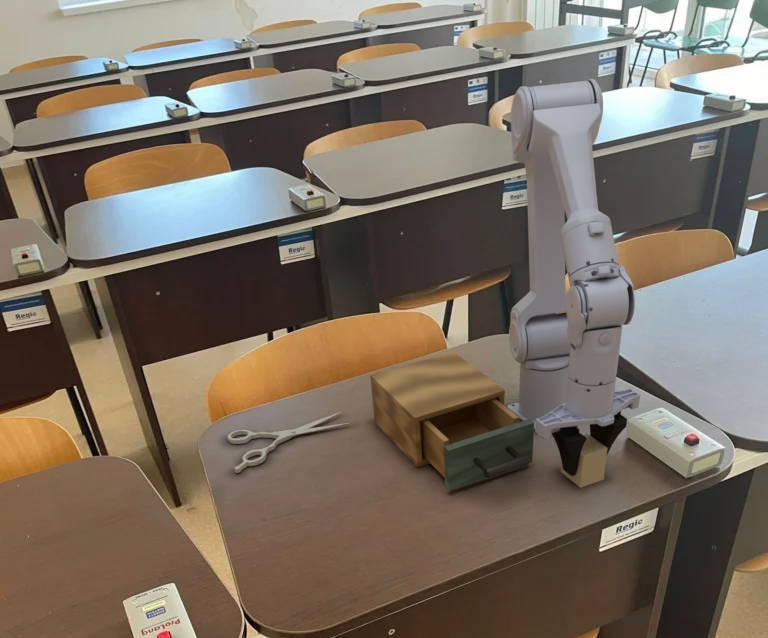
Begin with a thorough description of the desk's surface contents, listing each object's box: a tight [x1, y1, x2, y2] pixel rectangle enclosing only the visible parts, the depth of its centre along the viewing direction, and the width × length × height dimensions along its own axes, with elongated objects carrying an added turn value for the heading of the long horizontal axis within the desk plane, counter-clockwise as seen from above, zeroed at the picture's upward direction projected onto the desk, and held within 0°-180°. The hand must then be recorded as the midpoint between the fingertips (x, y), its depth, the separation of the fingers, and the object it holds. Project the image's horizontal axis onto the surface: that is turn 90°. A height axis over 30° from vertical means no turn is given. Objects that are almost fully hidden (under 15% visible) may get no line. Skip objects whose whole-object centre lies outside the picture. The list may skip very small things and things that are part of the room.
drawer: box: [420, 398, 535, 491], centre depth 103 cm, size 18×13×6 cm
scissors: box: [227, 411, 354, 474], centre depth 115 cm, size 11×1×20 cm
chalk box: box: [560, 432, 608, 489], centre depth 100 cm, size 4×4×5 cm
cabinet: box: [369, 351, 506, 468], centre depth 111 cm, size 15×14×8 cm
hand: (582, 467), depth 101 cm, fingers closed on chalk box, 4 cm apart
